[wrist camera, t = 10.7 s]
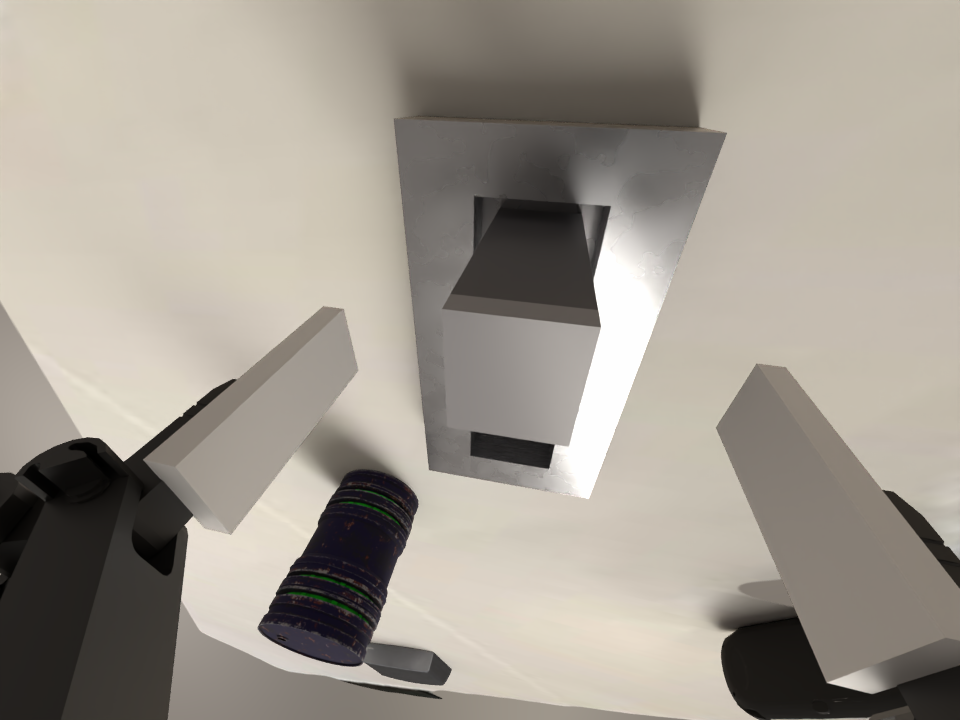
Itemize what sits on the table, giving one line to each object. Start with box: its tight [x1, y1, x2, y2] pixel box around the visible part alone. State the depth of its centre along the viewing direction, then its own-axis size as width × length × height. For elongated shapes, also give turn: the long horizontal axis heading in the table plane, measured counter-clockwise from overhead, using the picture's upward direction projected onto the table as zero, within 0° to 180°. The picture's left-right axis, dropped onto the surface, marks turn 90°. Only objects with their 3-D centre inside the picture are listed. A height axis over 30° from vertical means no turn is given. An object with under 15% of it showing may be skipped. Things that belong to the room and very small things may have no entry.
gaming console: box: [721, 618, 908, 720], centre depth 38 cm, size 19×9×2 cm
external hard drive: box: [363, 643, 452, 685], centre depth 84 cm, size 13×19×4 cm
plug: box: [442, 208, 601, 447], centre depth 16 cm, size 4×5×12 cm
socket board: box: [394, 116, 727, 499], centre depth 24 cm, size 14×26×4 cm, turn 178°
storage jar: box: [258, 470, 418, 667], centre depth 37 cm, size 10×10×15 cm
